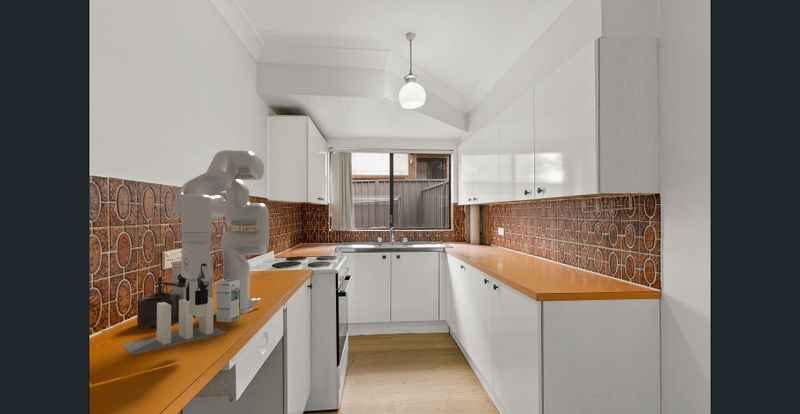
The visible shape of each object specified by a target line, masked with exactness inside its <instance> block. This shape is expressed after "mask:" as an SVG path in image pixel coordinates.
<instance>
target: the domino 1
mask: <svg viewBox="0 0 800 414" xmlns="http://www.w3.org/2000/svg"><path fill="white" fill-rule="evenodd" d="M171 334H172V326H171V305H170V304H168V303H166V302H161V303H157V327H156V337H157V340H158V341H159V342H160V343H162V344H168V343H171Z"/></svg>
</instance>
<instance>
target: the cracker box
mask: <svg viewBox="0 0 800 414" xmlns="http://www.w3.org/2000/svg"><path fill="white" fill-rule="evenodd" d="M171 265H172V266H171V267H172V269H171V271H172V272H171V275H172V277H171V279H172V280H171V283H174V284H178V279H177V276H178V275H179V274H181V260H177V261H176V260H175V261H172V262H171ZM185 285H186V283H185ZM171 288H172V292H171V294H179V300H181V299H186V287H182V288H180V287H177V286H171ZM208 297H211V298H213V299H214V258H213V257H211V276H210V281H209V284H208Z"/></svg>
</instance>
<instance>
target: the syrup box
mask: <svg viewBox="0 0 800 414" xmlns="http://www.w3.org/2000/svg"><path fill="white" fill-rule="evenodd" d="M215 287H216V288H215V291H216V292H215V294H216V295H215V297H216V300H215V302H216V303H215V304H216V306H215V307H216V311H215V313H216V317H215V318H216V322H219V323H232V322H235V321H237V320H240V319H241V314H240V280H237V279H226V280H224V281H223V280H220V281H217V282H216V284H215Z"/></svg>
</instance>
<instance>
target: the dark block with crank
mask: <svg viewBox="0 0 800 414" xmlns="http://www.w3.org/2000/svg"><path fill="white" fill-rule="evenodd" d="M162 277H163V276H157V291H155V292H153V293H151V294H150V295H147V296H145V297H143V298H141V299H139V300H138V301H137V312H136V315H137V320H136V321H137V330H139V329H153V328H154V329H155V328H156V329H157V303H161V302H166V303H168V304H170V305H171V327H172V326H173V325H174V324H176V323H177V322H179V294H172V293H169V292H166V291H162V285H164V286H171V287H172V286H177V287H180V288H182V287H186V285H185V283H186V278H183V277H182V276H181V274H179V275H178V276H177V279H178V284H174V283H172V282H167V281H166V282H165V281H163V280H162V279H163V278H162Z"/></svg>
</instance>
